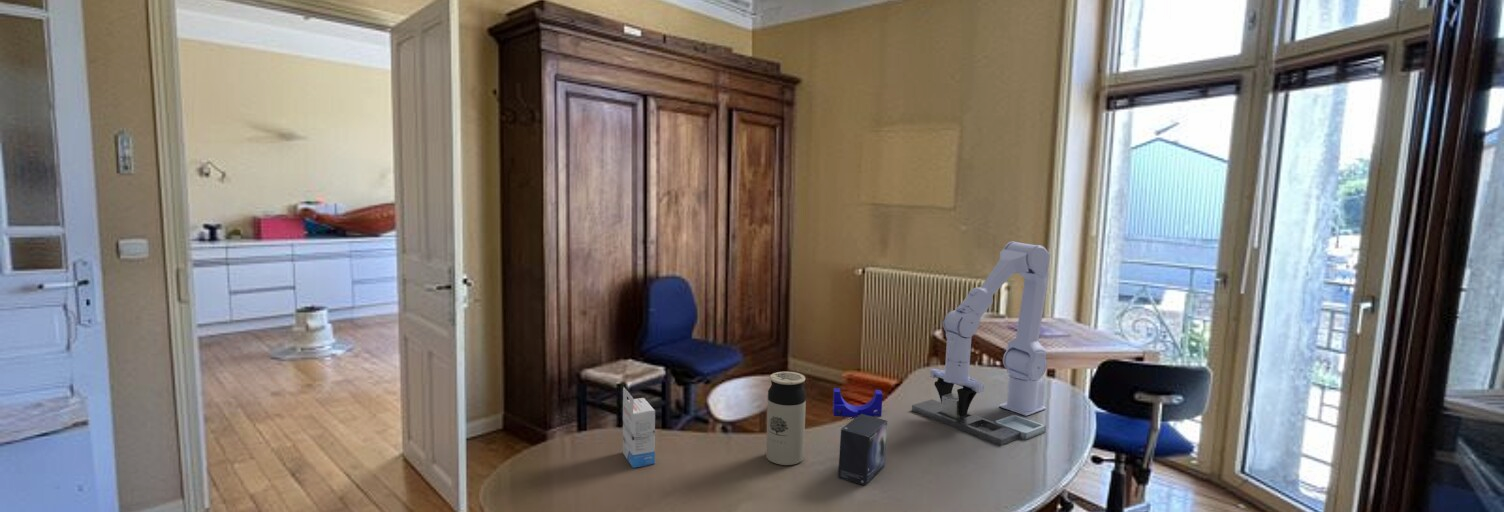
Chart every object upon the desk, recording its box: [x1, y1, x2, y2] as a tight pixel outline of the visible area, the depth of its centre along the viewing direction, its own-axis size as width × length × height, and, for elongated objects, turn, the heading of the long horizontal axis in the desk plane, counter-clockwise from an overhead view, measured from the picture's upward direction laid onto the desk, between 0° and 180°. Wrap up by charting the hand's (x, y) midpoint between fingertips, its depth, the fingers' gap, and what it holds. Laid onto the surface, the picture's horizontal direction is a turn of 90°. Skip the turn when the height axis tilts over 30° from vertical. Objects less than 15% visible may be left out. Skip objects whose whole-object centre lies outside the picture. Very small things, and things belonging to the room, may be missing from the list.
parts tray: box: [993, 414, 1047, 441], centre depth 160 cm, size 8×8×2 cm
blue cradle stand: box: [832, 387, 883, 418], centre depth 168 cm, size 12×4×6 cm, turn 86°
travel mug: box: [765, 371, 807, 466], centre depth 141 cm, size 8×8×18 cm
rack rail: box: [911, 399, 1022, 446], centre depth 164 cm, size 8×26×1 cm, turn 36°
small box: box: [837, 414, 888, 486], centre depth 135 cm, size 11×6×10 cm, turn 148°
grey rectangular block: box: [941, 391, 969, 420], centre depth 166 cm, size 4×4×6 cm
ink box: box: [622, 386, 656, 469], centre depth 139 cm, size 8×5×15 cm, turn 26°
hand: (954, 412), depth 166 cm, fingers closed on grey rectangular block, 4 cm apart
